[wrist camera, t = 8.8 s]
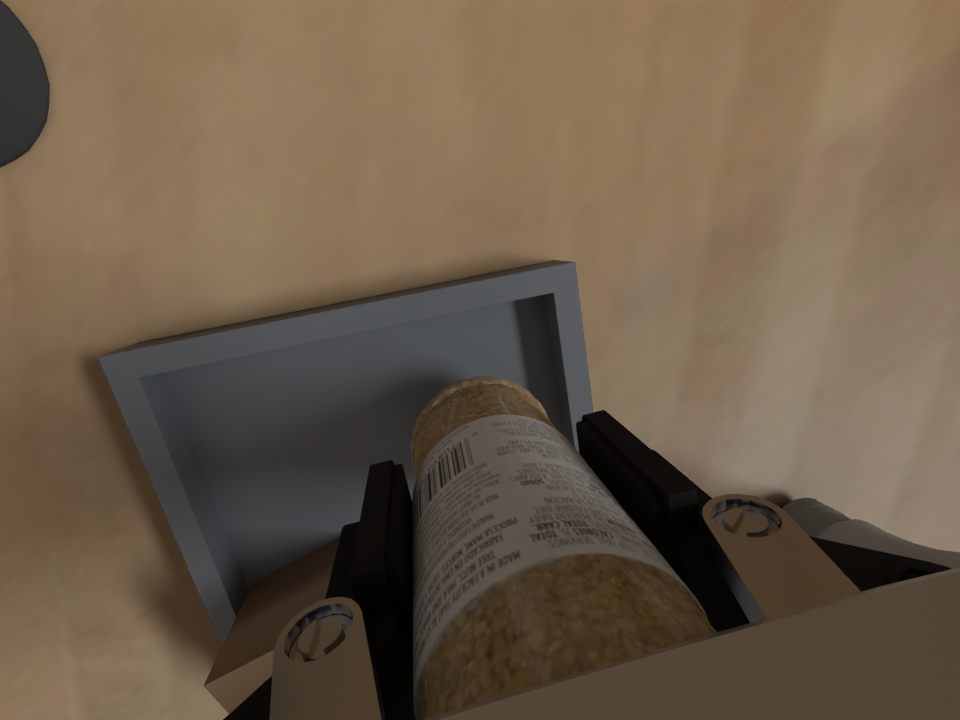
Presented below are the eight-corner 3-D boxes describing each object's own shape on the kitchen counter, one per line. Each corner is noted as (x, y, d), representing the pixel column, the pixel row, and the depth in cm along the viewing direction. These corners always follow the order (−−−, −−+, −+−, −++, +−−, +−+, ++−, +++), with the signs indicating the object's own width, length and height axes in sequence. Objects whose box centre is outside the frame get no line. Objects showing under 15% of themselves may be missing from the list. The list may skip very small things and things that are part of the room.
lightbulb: (696, 519, 20) (1035, 840, 9) (804, 423, 19) (1288, 639, 9) (768, 594, 21) (1123, 938, 11) (867, 507, 21) (1337, 774, 10)
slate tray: (138, 342, 14) (97, 357, 12) (555, 260, 16) (574, 261, 14) (270, 673, 18) (254, 723, 16) (598, 583, 20) (618, 620, 18)
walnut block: (252, 581, 16) (203, 685, 12) (352, 531, 16) (334, 618, 12) (311, 656, 17) (283, 773, 13) (404, 608, 17) (402, 710, 14)
